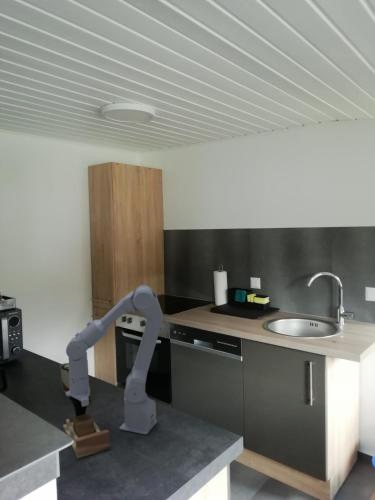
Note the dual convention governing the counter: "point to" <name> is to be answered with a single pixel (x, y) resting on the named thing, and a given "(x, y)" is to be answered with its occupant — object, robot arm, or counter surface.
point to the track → (88, 440)
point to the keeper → (83, 425)
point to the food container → (65, 376)
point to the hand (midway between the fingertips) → (80, 418)
